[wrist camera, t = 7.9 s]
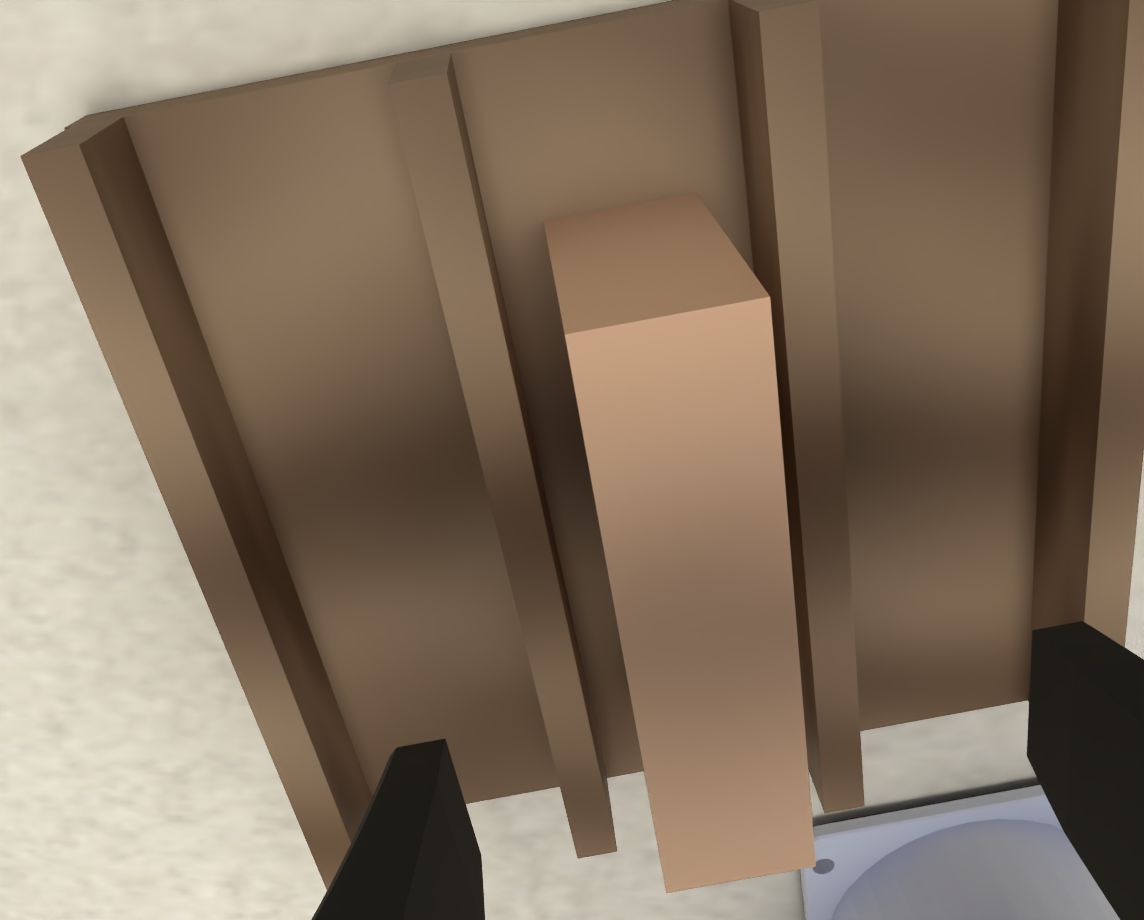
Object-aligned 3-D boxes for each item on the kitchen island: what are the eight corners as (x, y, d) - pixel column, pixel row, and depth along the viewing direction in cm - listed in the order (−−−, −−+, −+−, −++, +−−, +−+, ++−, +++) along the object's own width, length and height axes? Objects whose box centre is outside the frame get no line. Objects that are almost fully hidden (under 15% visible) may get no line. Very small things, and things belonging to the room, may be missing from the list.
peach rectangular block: (749, 671, 22) (815, 866, 18) (629, 692, 22) (666, 893, 18) (696, 192, 17) (769, 296, 13) (543, 221, 17) (564, 334, 13)
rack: (1047, 662, 24) (1118, 759, 21) (344, 792, 24) (327, 904, 21) (1088, -81, 17) (1201, -75, 14) (85, 116, 17) (12, 157, 14)
